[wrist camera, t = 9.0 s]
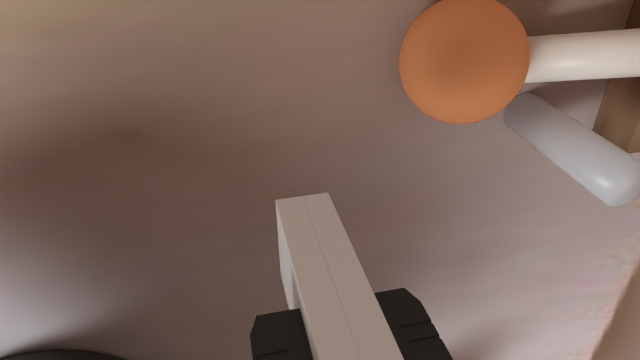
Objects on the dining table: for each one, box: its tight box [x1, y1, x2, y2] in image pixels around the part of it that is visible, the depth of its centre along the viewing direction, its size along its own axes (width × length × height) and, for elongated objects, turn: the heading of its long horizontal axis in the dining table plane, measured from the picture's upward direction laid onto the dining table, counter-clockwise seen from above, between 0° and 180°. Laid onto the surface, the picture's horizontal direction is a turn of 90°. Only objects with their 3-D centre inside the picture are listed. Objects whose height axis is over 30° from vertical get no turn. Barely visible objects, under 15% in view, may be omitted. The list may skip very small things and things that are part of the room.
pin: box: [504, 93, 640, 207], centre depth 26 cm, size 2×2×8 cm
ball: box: [399, 0, 530, 124], centre depth 23 cm, size 6×6×6 cm
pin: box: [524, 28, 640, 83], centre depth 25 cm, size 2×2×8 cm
